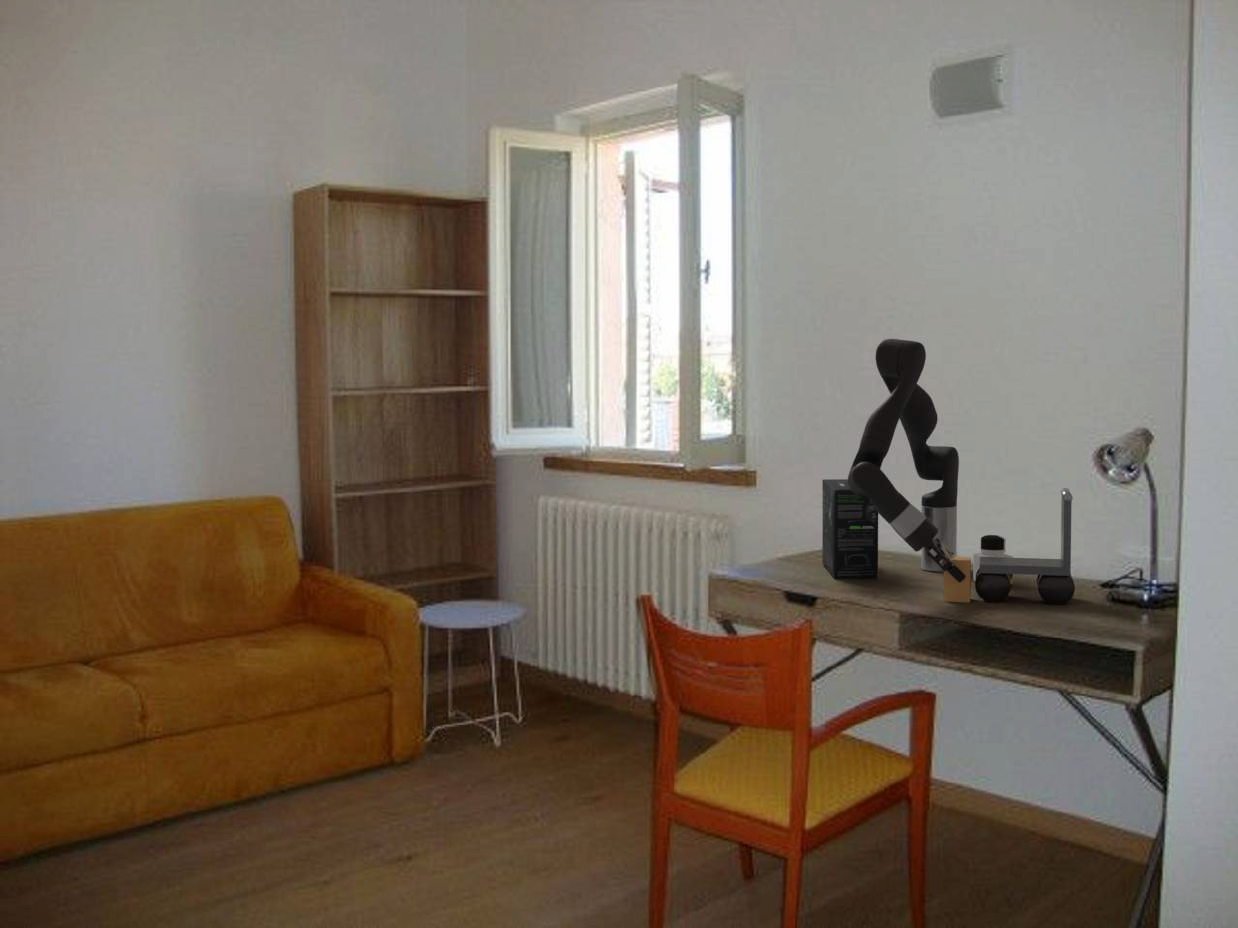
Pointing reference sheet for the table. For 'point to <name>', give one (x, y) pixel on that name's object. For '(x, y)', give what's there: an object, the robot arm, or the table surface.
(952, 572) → the robot arm
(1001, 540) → the medicine bottle
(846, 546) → the headset box
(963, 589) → the light orange block
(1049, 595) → the trolley
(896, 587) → the table surface
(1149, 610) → the table surface
